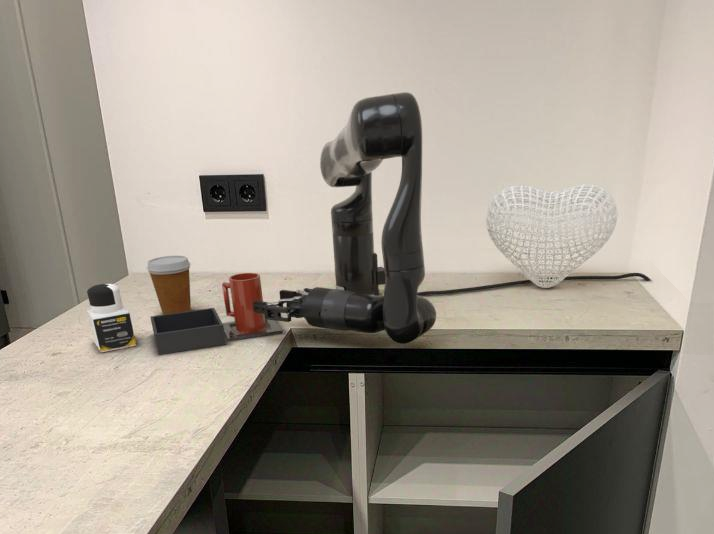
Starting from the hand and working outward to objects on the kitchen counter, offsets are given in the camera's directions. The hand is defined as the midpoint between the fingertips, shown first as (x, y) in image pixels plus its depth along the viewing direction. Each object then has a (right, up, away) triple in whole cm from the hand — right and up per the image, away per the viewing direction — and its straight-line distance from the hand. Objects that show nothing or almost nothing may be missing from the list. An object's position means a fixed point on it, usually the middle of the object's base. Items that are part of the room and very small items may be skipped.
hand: (267, 300), depth 148 cm
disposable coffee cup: (-23, +2, +19) cm, 30 cm away
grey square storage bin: (-16, -8, +2) cm, 18 cm away
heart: (+61, +8, +21) cm, 65 cm away
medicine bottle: (-31, -9, +2) cm, 32 cm away
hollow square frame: (-4, -5, +6) cm, 9 cm away
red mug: (-6, -4, +7) cm, 10 cm away
